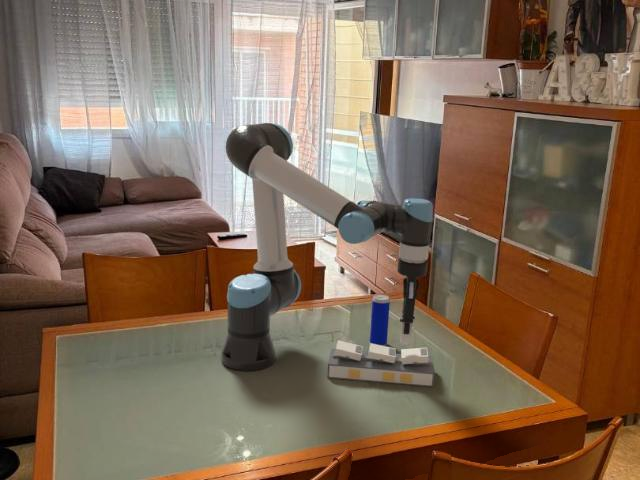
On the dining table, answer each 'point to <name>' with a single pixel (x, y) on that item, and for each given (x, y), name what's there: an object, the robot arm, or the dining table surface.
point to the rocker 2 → (382, 353)
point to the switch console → (380, 370)
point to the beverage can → (379, 320)
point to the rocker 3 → (414, 356)
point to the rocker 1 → (348, 350)
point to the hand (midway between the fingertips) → (404, 343)
